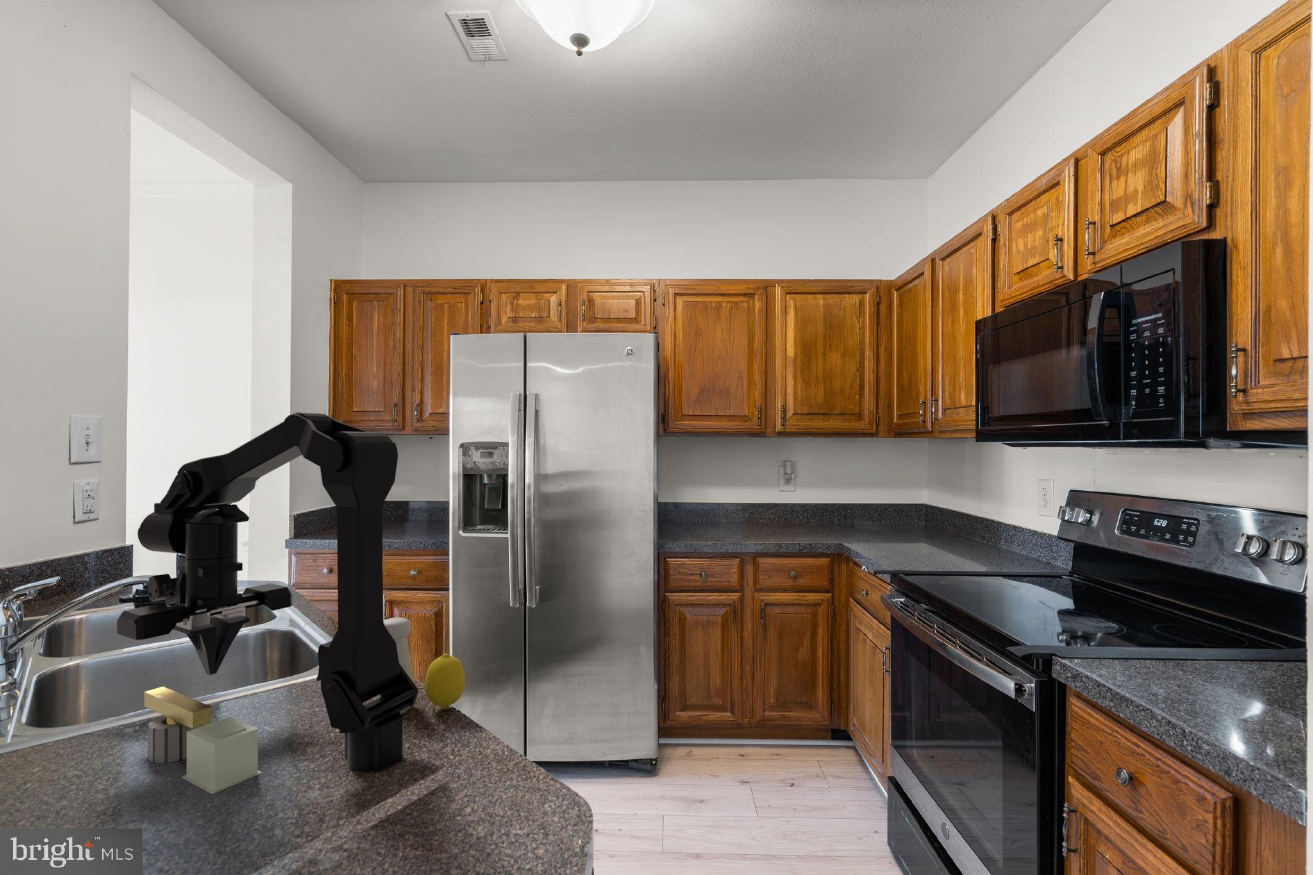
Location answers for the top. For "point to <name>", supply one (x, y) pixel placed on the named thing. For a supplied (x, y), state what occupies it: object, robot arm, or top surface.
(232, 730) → the pale green block
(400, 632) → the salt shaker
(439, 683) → the lemon
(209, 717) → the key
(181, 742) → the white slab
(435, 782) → the top surface
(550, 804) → the top surface
